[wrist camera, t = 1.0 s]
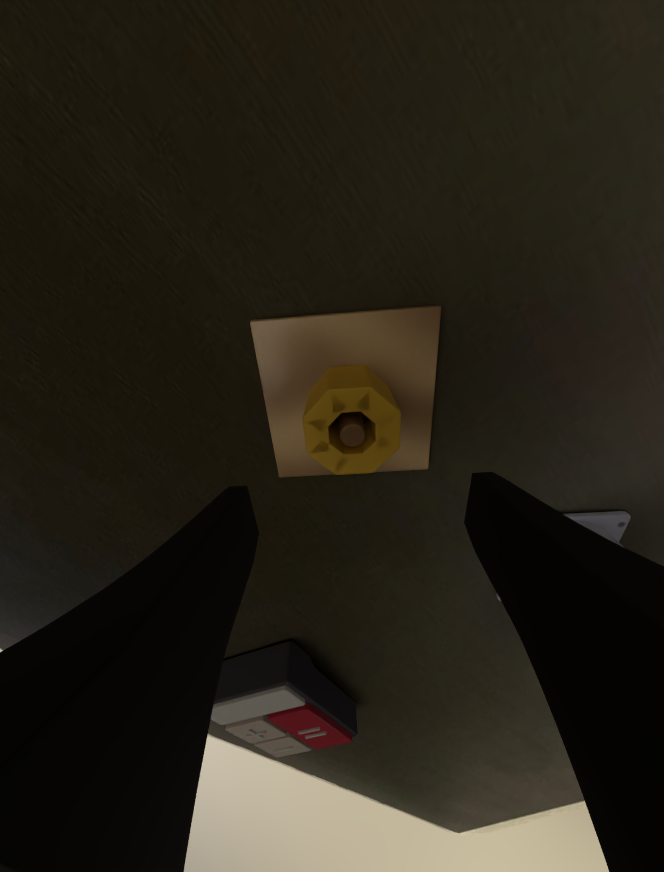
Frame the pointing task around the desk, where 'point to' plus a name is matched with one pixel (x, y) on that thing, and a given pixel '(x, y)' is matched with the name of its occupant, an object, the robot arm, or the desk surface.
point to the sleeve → (351, 394)
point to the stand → (345, 346)
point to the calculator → (282, 702)
